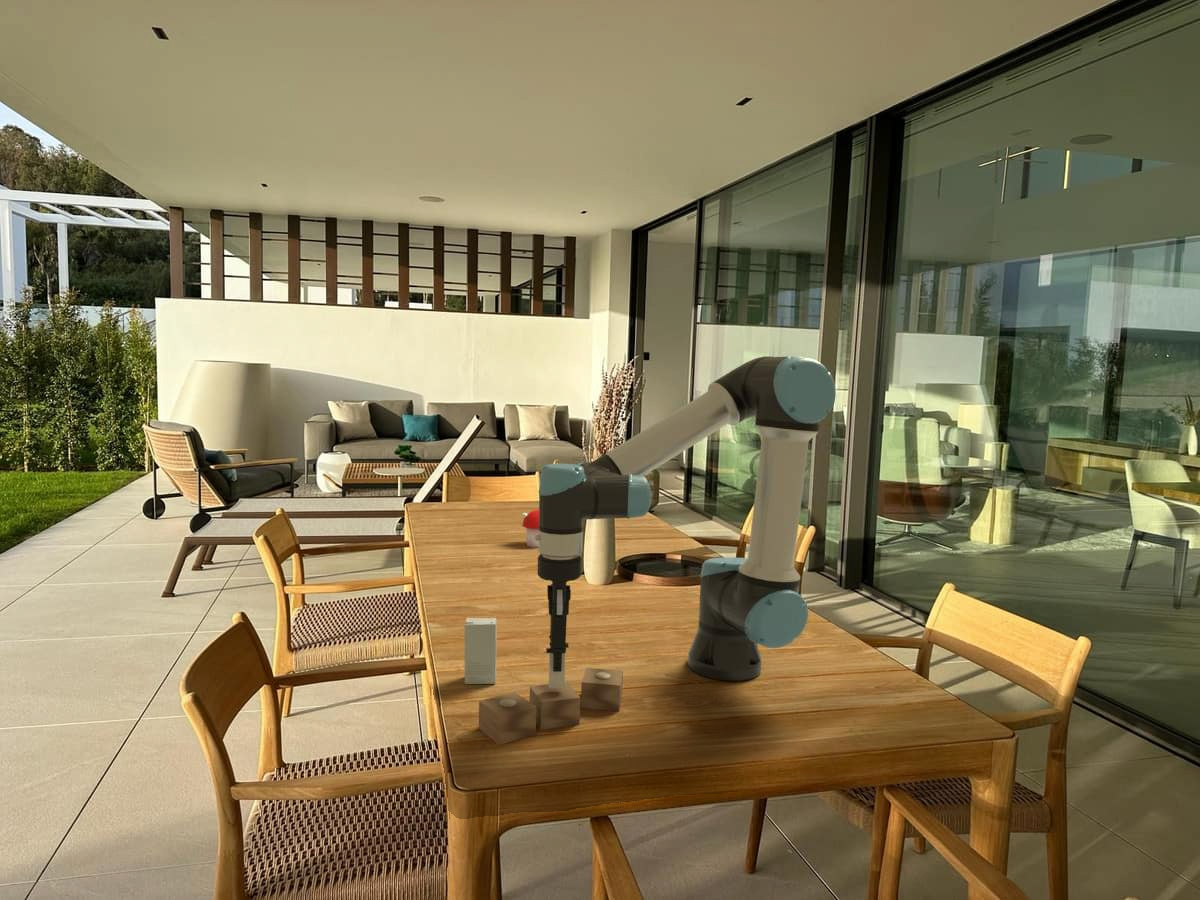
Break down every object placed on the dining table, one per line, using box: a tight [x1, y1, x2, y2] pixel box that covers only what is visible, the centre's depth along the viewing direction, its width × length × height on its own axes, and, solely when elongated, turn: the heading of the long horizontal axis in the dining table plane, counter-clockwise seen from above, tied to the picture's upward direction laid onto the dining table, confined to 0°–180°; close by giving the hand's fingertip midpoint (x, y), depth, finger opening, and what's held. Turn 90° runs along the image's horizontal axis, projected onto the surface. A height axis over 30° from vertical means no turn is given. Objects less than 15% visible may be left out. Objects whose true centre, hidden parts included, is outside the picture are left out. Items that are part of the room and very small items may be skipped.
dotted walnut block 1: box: [478, 691, 537, 746], centre depth 134 cm, size 7×7×5 cm
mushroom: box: [521, 509, 540, 548], centre depth 268 cm, size 11×11×12 cm
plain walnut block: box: [528, 681, 581, 731], centre depth 140 cm, size 7×7×5 cm
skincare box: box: [464, 617, 497, 685], centre depth 154 cm, size 6×4×12 cm
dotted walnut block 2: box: [580, 667, 624, 712], centre depth 148 cm, size 7×7×5 cm
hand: (556, 686), depth 140 cm, fingers closed
